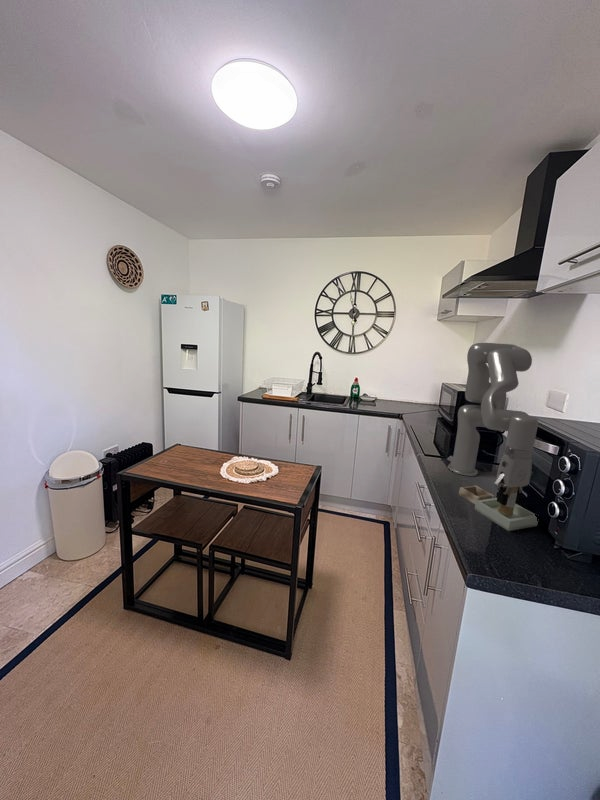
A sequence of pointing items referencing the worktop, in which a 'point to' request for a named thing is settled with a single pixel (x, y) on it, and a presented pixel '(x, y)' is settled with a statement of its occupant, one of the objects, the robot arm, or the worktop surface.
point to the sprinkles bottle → (509, 502)
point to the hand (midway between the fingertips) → (507, 502)
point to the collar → (471, 490)
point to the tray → (514, 522)
